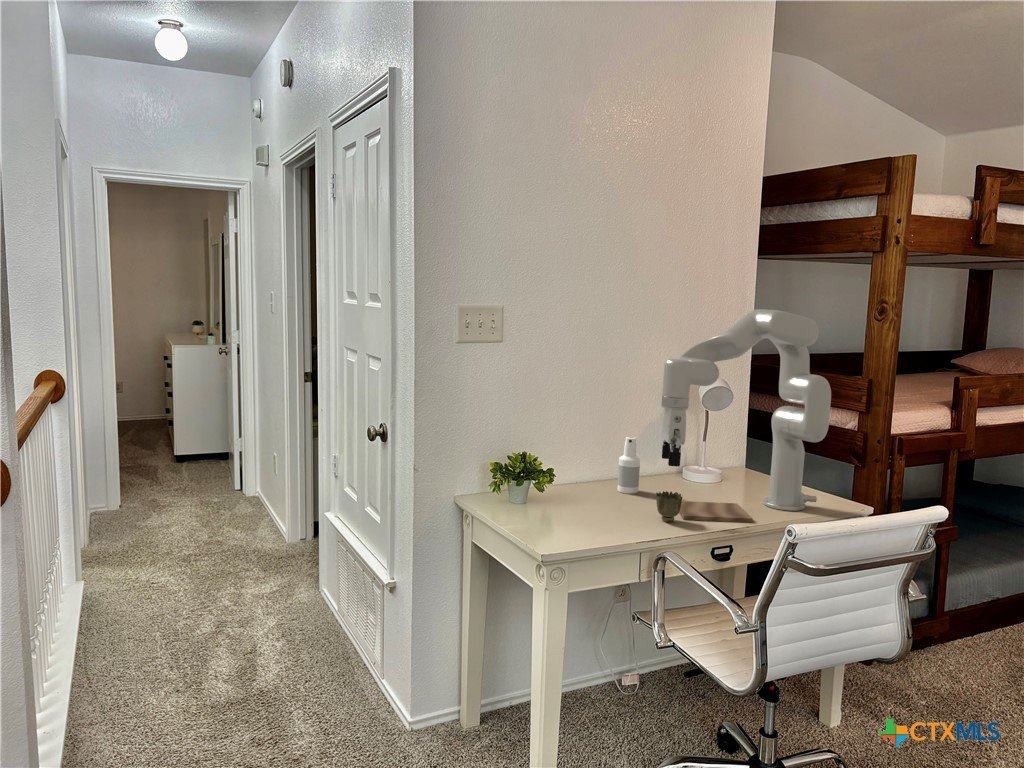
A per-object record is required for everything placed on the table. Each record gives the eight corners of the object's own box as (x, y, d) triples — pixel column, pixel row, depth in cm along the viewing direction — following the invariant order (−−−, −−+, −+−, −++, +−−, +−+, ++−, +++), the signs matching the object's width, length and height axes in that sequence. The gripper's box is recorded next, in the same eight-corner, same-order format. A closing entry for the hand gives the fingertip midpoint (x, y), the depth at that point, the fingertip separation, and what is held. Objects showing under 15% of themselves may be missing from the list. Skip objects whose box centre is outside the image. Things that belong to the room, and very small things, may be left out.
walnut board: (736, 507, 236) (737, 503, 236) (752, 522, 221) (752, 518, 220) (672, 504, 237) (672, 500, 236) (683, 519, 221) (683, 515, 221)
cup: (651, 517, 222) (653, 490, 221) (676, 517, 223) (678, 490, 222) (658, 524, 215) (660, 497, 214) (684, 525, 215) (685, 497, 214)
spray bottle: (616, 492, 248) (619, 438, 246) (618, 487, 255) (621, 435, 253) (637, 494, 246) (640, 440, 244) (638, 489, 253) (642, 436, 251)
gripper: (695, 407, 206) (690, 469, 208) (681, 399, 223) (677, 456, 225) (667, 406, 206) (663, 468, 208) (656, 398, 223) (652, 455, 225)
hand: (670, 462), depth 217 cm, fingers open, 9 cm apart
